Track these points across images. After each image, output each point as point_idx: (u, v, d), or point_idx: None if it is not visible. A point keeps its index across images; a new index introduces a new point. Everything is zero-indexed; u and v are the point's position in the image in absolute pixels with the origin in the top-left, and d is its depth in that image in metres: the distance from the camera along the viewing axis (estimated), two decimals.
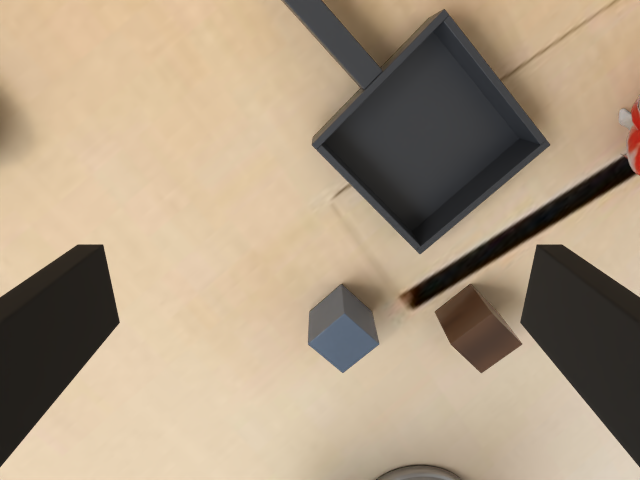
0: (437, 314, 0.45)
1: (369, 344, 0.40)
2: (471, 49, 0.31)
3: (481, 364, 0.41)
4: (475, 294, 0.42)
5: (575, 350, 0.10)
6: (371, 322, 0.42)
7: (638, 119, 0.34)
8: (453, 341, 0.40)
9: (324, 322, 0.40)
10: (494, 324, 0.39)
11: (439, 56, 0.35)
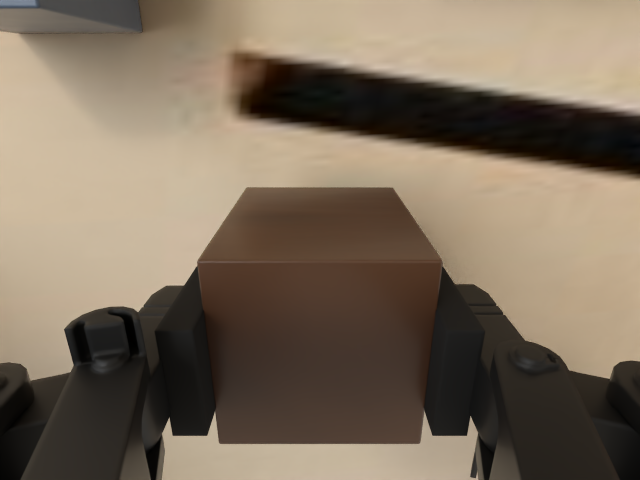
0: (247, 193, 0.13)
1: None
2: None
3: (243, 416, 0.10)
4: (397, 205, 0.12)
5: None
6: None
7: None
8: (216, 259, 0.08)
9: None
10: (409, 311, 0.09)
11: None
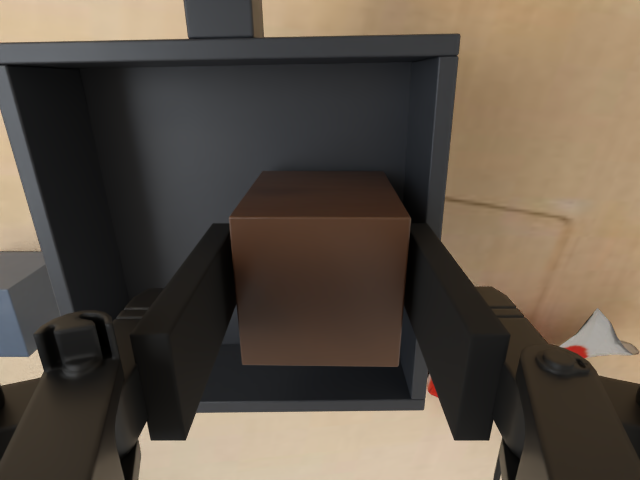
0: (263, 174, 0.16)
1: (15, 348, 0.26)
2: (440, 159, 0.13)
3: (261, 342, 0.13)
4: (384, 183, 0.15)
5: (418, 310, 0.12)
6: None
7: None
8: (242, 216, 0.11)
9: None
10: (386, 257, 0.11)
11: (387, 123, 0.17)
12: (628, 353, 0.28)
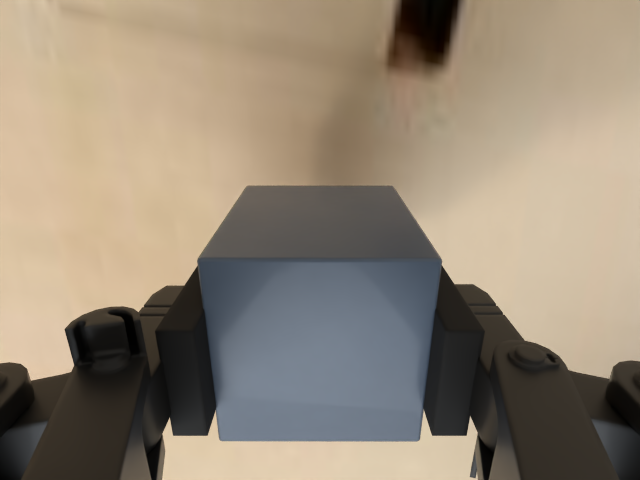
0: None
1: (406, 290, 0.08)
2: None
3: None
4: None
5: None
6: (384, 212, 0.11)
7: None
8: None
9: None
10: None
11: None
12: None
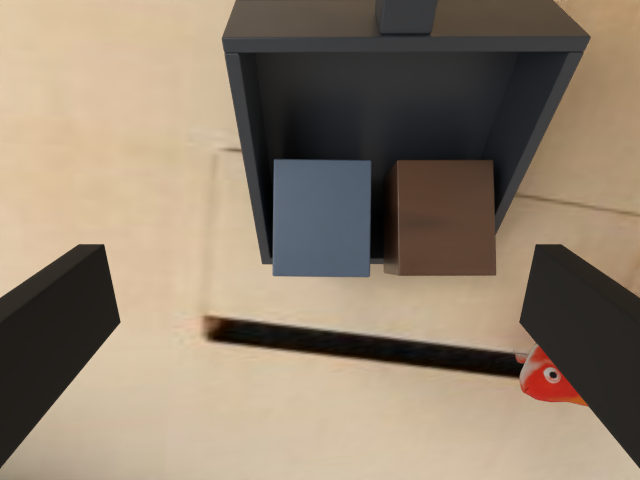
0: (400, 174, 0.21)
1: None
2: (545, 120, 0.18)
3: None
4: (489, 199, 0.21)
5: (574, 350, 0.10)
6: (356, 219, 0.21)
7: None
8: (406, 273, 0.21)
9: None
10: None
11: (499, 63, 0.20)
12: None
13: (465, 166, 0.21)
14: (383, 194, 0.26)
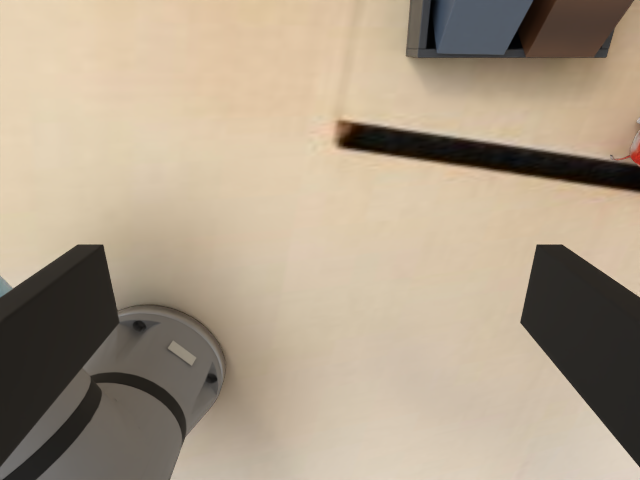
0: None
1: (522, 1, 0.26)
2: None
3: (540, 46, 0.29)
4: None
5: (575, 350, 0.10)
6: None
7: None
8: None
9: (444, 12, 0.28)
10: (620, 7, 0.26)
11: None
12: None
13: None
14: None
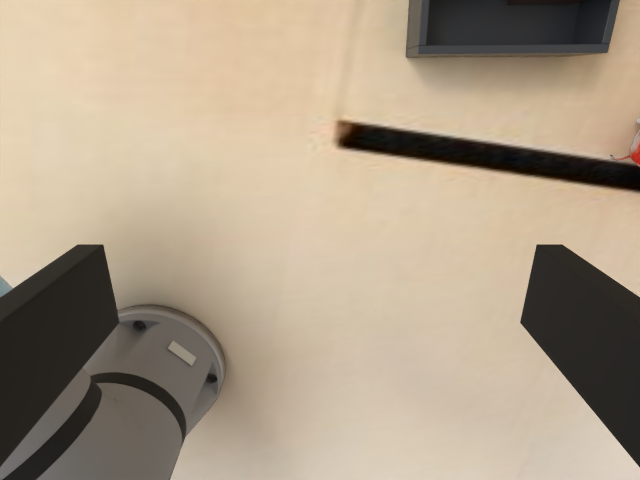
0: None
1: None
2: None
3: None
4: None
5: (575, 350, 0.10)
6: None
7: None
8: None
9: None
10: None
11: None
12: None
13: None
14: None
